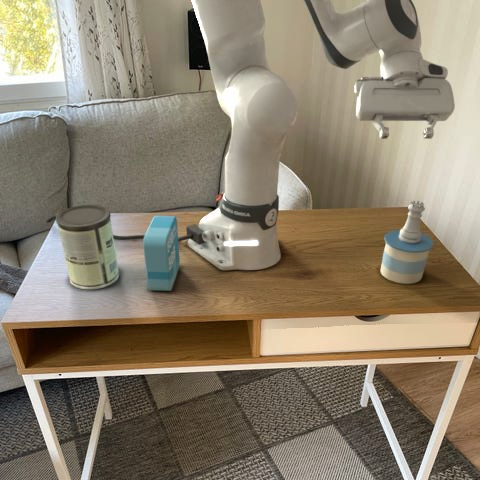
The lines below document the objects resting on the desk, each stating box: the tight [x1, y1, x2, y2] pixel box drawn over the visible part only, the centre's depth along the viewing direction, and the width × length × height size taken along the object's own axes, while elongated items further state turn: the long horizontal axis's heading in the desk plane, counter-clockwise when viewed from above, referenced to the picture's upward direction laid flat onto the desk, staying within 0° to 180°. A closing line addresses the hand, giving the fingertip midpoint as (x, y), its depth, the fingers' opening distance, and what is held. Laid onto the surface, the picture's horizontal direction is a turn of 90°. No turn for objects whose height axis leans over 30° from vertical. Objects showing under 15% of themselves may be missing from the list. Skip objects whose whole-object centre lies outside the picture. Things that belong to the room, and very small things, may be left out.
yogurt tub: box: [380, 229, 434, 285], centre depth 106 cm, size 10×10×8 cm
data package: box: [142, 215, 181, 292], centre depth 102 cm, size 12×4×12 cm, turn 176°
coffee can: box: [55, 204, 120, 291], centre depth 101 cm, size 10×10×14 cm
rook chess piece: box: [398, 200, 426, 244], centre depth 102 cm, size 4×4×8 cm
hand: (406, 137), depth 105 cm, fingers open, 8 cm apart
